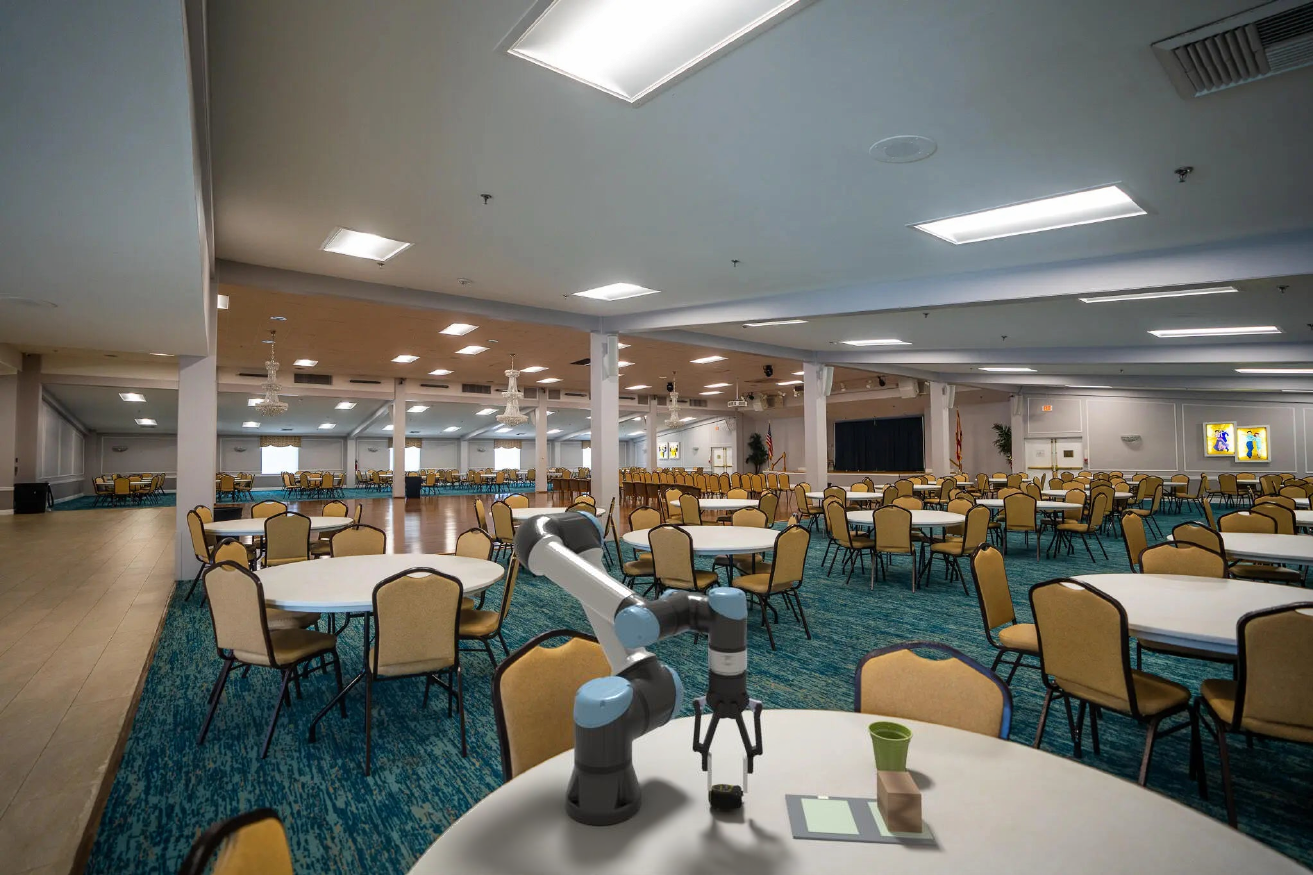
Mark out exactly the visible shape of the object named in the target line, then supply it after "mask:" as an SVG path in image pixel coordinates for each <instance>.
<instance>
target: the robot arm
mask: <svg viewBox="0 0 1313 875" xmlns="http://www.w3.org/2000/svg"><path fill="white" fill-rule="evenodd" d="M604 535H605V534H604V529H603V526H602V524H601V522H600V521H599V520H598V518H597V517H596V516H594V515H593V513H591V512H588V511H584V510H569V511H566V512H565V511H564V512H554V513H545V514H544V513H543V514H535V515H532V516H530V517H528V518H527V519H525V520H523V522H521V524H520V525H519V526H518V527H517V529H516V531H515V534H514V536H513V550H514V554H515V556H516V558H517V560H518V561H519V563H520V564H521V565H522V566H524V568H526V569H527V570H528V571H529V572H531V573H533V574H534V575H536V576H545V577H547V579H549V580H550V581H552V582H553V583H555V584H556V585H557V586H559V587H560V588H562V589H563V590H565V591H566V592H567V593H568V594H570V596H571V595H572V596H573V597H574V598H576V599H577V600H579V602H580V604H581V606H582V609H583V610H584V612H585V615H586V618H587V619H588V621H589V623H590V626H591V628H592V630H593V632H594V634H595V636H596V638H597V640H598V643H599V645H600V647H601V649H602V651H603V653H604V656H605V657H606V659H607V662H608V664H609V666H610V668H611V672H610V676H609V675H608V676H605V677H601V676H600V677H596V678H594V679H591V680H589V681H587V682H585V683H583V685H581V686H580V688H579V689H578V690H577V691H576V694H575V695H574V696H575V697H574V706H573V711H572V712H573V713H572V714H573V715H572V716H573V742H574V743H573V744H574V750H573V753H574V754H573V756H574V757H573V758H574V759H573V760H574V761H573V768H572V769H573V770H572V771H571V775H570V779H569V781H568V784H567V788H566V791H565V810H566V812H567V814H568V816H569V817H571V818H572V819H574V820H576V821H577V822H580V823H582V824H586V825H593V826H608V825H613V824H618V823H622V822H624V821H626V820H628V819H630V818H632V817H633V816H634V815H635V814H636V813H637V812H638V811H639V809H640V808H641V805H642V789H641V786H640V783H639V779H638V776H637V774H636V770H635V767H634V764H633V741H635V740H637V739H639V738H641V737H642V736H645V735H646V734H647V735H648V733H651V732H652V731H654V730H656V729H658V728H661V727H664V726H665V725H667V724H669V722H670V721H672V720H674V719H675V718H676V717H677V716H678V715H679V713H680V711H681V709H682V707H683V700H684V687H683V683H682V680H681V679H680V676H679V675H678V673H677V672H676V670H674V668H673V667H670V666H669V665H667V664H661V663H660V661H659V659H658V656H657V655H656V653H653V652H650V651H647V650H646V648H645V647H649V646H652V644H655V643H658V642H659V641H663V640H666V639H668V638H671V637H674V636H677V635H680V634H683V633H685V632H693V633H697V634H702V635H708V638H707V639H708V645H707V646H708V647H707V648H708V649H707V650H708V654H707V656H708V660H707V662H708V668H709V669H708V670H707V671H708V675H707V676H708V678H707V680H708V682H707V683H708V685H707V687H708V688H707V689H708V690H707V693H706V694H705V696H701V697H699V696H698V695H696V696H694V697H693V701H692V706H693V709H694V723H693V724H694V727H693V737H692V751H693V752H694V753H699V754H700V756H701V769H702V770H701V771H702V772H707V792H708V791H711V789H712V786H713V784H712V783H713V781H712V778H713V776H712V773H713V771H712V770H713V769H712V767H713V766H712V765H713V762H712V758H713V750H712V749H710V748H711V745H712V742H713V739H714V736H715V733H716V730H717V727H718V725H719V722H720V720H723V719H724V720H725V719H731V720H735V722H736V726H737V729H738V731H739V734H740V737H741V740H742V741H741V742H742V744H743V747H744V750H745V751H743V752H742V789H743V790H742V791H743V794H748V774H750V775H753V773H754V758H755V756H762V755H763V753H764V749H763V747H764V746H763V737H762V725H761V724H762V722H761V716H762V710H763V701H762V700H761V699H760V698H757V699H753V698H750V697H749V694H748V690H747V689H748V682H747V681H748V672H747V671H746V669H747V667H748V646H747V636H748V635H747V632H748V631H747V630H748V627H747V624H748V623H747V622H748V614H749V613H748V608H747V606H748V605H747V595H746V593H745V592H744V591H743V590H741V589H740V588H736V587H727V586H720V587H719V586H718V587H713V588H711V589H710V590H709V592H708V595H705V594H699V593H695V592H690V591H687V590H684V589H668V590H665V591H664V592H663V594H661V595H660V596H659V598H658V599H655V600H652V601H651V600H648V599H646V598H645V597H643V596H642V595H640V594H638V593H637V592H635V591H634V590H632V589H630V588H629V587H628V586H626V585H625V584H623V583H621V582H620V581H618V580H617V579H616V578H614V577H612V576H611V575H609V574H608V572H607V569H606V568H605V566H604V564H603V561H602V558H603V555H604V550H603V546H604V543H605V539H604V538H603V537H605V536H604ZM706 704H707V705H708V706H709V708H710V709H711V711H712V714H711V719H710V721H709V724H708V727H707V730H706V733H705V736H704V739H703V741H702V742H700V738H701V737H700V736H701V726H702V712H703V710H704V709H705V707H706V706H705V705H706ZM748 706H750V711H751V712H752V713H753V726H754V738H755V739H754V740H755V745H752V742H751V739H750V736H749V732H748V730H747V726H746V723H745V719H744V717H743V716H744V715H743V712H744V711H745V710H746V708H747V707H748Z"/></svg>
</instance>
